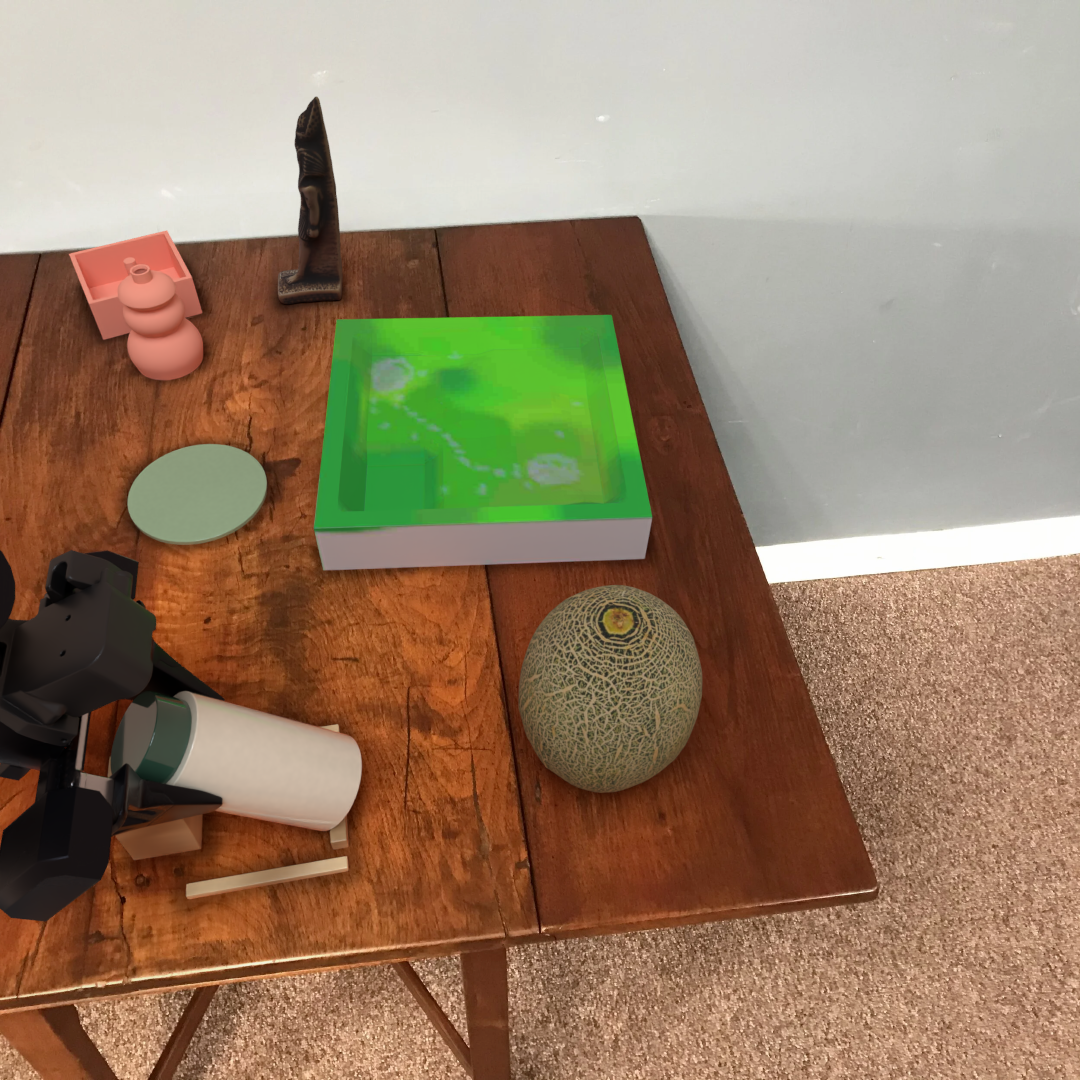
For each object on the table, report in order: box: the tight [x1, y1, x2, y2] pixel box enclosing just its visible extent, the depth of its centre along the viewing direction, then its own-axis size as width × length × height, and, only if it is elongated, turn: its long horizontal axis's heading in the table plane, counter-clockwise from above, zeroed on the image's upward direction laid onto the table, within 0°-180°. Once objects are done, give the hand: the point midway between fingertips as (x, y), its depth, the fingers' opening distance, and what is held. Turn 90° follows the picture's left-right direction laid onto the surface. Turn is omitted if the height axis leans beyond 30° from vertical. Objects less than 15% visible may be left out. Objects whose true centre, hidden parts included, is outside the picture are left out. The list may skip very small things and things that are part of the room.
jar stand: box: [107, 723, 350, 900], centre depth 57 cm, size 13×10×6 cm
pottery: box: [68, 230, 204, 381], centre depth 87 cm, size 18×10×10 cm, turn 29°
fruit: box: [518, 584, 703, 794], centre depth 58 cm, size 11×11×15 cm
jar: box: [110, 691, 363, 832], centre depth 55 cm, size 13×6×13 cm, turn 101°
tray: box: [313, 314, 653, 571], centre depth 79 cm, size 25×25×5 cm
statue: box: [277, 96, 344, 305], centre depth 88 cm, size 4×7×20 cm, turn 100°
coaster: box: [126, 443, 268, 546], centre depth 77 cm, size 11×11×1 cm
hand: (220, 754), depth 54 cm, fingers closed on jar, 6 cm apart
